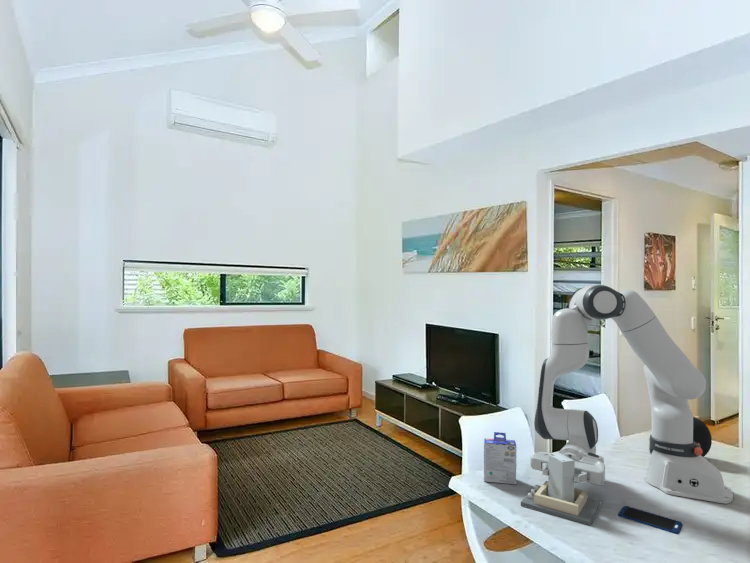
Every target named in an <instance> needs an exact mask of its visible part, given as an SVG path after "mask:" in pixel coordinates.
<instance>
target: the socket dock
mask: <svg viewBox="0 0 750 563" xmlns="http://www.w3.org/2000/svg"><path fill="white" fill-rule="evenodd" d="M601 502H602V501H601V500H597V499H592V498H589V497H588V490H584V489H581V488H576V487H574V503H571V502H567V501H564V500H560V499H556V498H553V497H549V496H548V480H545V481H544V483H542V485H539V484H535V485H534V486H533V488H531V489H530V491H529V492H528V493H527V494H526V495H525V497H524V498H523V499H521V501H520V506H522V507H525V508H528V509H531V510H536V511H538V512H542V513H546V514H550V515H552V516H555V517H556V516H557V517H559V518H562V519H566V520H569V521H574V522H577V523H581V524H583V525H587V526H591V525H592V523H593V522H594V519H595V517H596V515H597V514H598V511H599V510H600V508H601V506H602V503H601Z"/></svg>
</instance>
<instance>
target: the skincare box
mask: <svg viewBox="0 0 750 563" xmlns="http://www.w3.org/2000/svg"><path fill="white" fill-rule="evenodd" d="M574 465H575V461H574V460H572V459H570V458H568V457H566V456H564V455H562V454H560V453H558V452H557V453H552V454H550V455H549V472H548V476H547V478H548V480H547V481H548V496H549V497H553V498H556V499H560V500H564V501H567V502H571V503H574V488H575V482H574Z"/></svg>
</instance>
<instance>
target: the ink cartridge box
mask: <svg viewBox="0 0 750 563" xmlns="http://www.w3.org/2000/svg"><path fill="white" fill-rule="evenodd" d="M498 436H501V437H498ZM502 436H503V437H502ZM506 436H507V435H506V432H498V431H497V432H496V431H494V432H493V438H484V440H483V441H484V443H483V481H484V482H485V483H486V482H487V483H499V484H500V483H501V484H506V485H508V484H509V485H516V484H517V442H516V440H515V439H507V437H506Z"/></svg>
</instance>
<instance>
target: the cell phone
mask: <svg viewBox="0 0 750 563" xmlns="http://www.w3.org/2000/svg"><path fill="white" fill-rule="evenodd" d="M617 515H618V517H620V518H623V519H626V520H629V521H633V522H636V523H639V524H642V525H646V526H648V527H652V528H655V529H658V530H662V531H665V532H669V533H671V534H675V535H679V533H680V532H681V530H682V527H683V522H682V521H680V520H677V519H672V518H669V517H666V516H663V515H660V514H656V513H654V512H649V511H647V510H642V509H639V508H635V507H634V506H633V507H632V506H630V505H624V506H623V507H622V508H621V509H620V511H619V512H618V514H617Z"/></svg>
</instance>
